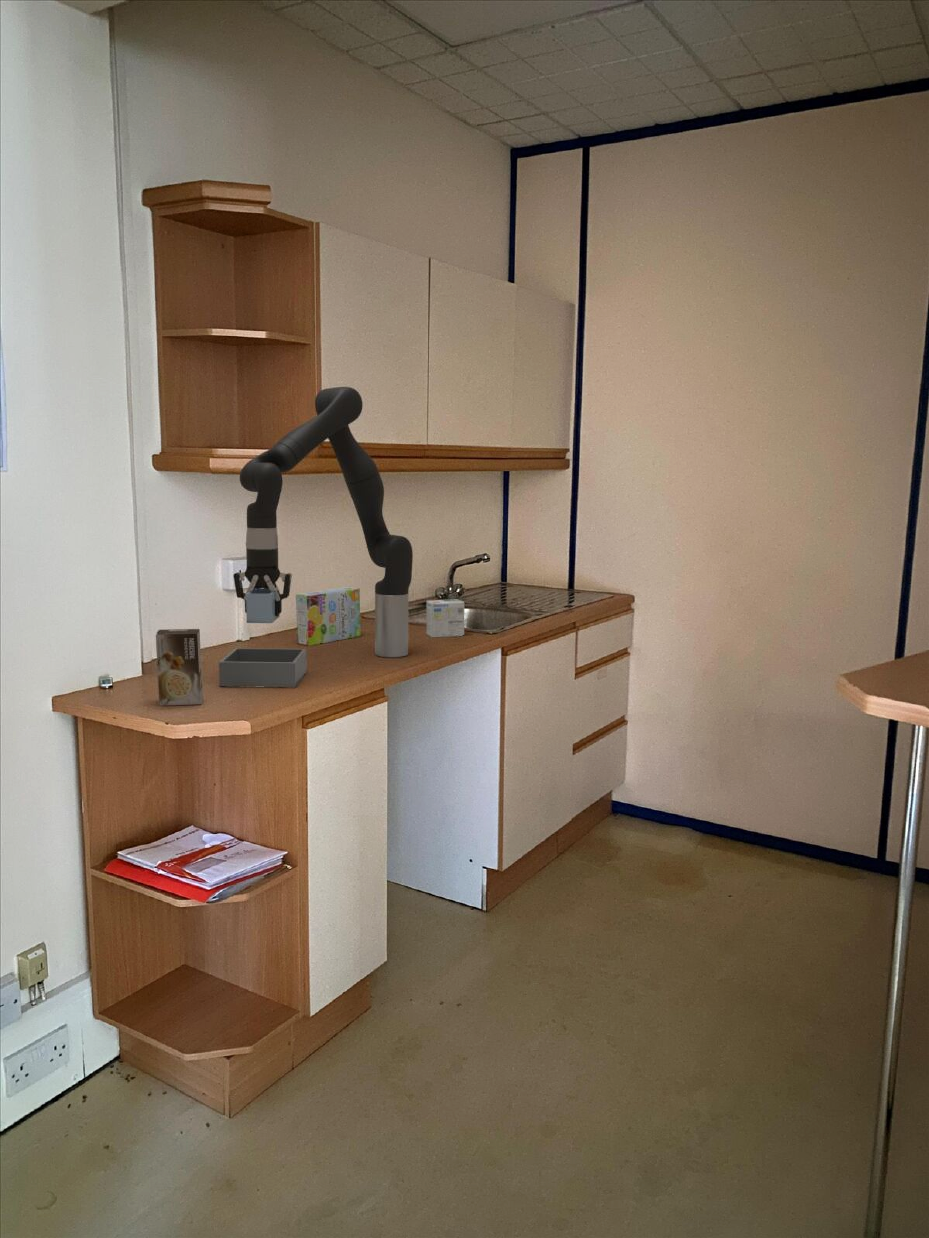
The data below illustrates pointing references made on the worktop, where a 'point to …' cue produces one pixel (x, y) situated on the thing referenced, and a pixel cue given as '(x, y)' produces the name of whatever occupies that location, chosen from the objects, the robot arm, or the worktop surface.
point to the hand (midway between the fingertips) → (263, 615)
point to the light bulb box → (445, 618)
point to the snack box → (328, 615)
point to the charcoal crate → (263, 667)
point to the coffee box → (179, 667)
